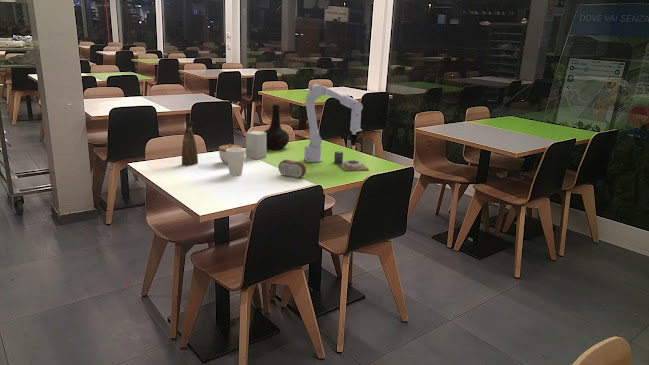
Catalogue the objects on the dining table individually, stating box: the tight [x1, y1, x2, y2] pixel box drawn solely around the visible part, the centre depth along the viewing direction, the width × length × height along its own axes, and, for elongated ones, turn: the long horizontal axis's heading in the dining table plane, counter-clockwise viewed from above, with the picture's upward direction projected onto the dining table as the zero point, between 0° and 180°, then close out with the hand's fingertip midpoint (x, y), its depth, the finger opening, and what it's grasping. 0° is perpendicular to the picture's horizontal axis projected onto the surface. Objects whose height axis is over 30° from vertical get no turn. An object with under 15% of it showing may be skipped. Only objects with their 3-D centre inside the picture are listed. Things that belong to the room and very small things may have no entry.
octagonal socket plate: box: [337, 159, 370, 172], centre depth 273 cm, size 14×14×3 cm
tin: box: [278, 159, 307, 179], centre depth 249 cm, size 15×3×8 cm, turn 65°
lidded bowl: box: [218, 143, 243, 165], centre depth 270 cm, size 13×13×11 cm
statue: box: [181, 119, 199, 166], centre depth 263 cm, size 9×8×25 cm
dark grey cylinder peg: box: [333, 151, 344, 164], centre depth 282 cm, size 5×5×6 cm
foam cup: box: [226, 147, 246, 177], centre depth 249 cm, size 10×9×13 cm
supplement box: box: [245, 130, 267, 160], centre depth 285 cm, size 9×9×15 cm
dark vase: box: [263, 104, 290, 150], centre depth 308 cm, size 18×18×28 cm
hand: (354, 144), depth 287 cm, fingers open, 7 cm apart
